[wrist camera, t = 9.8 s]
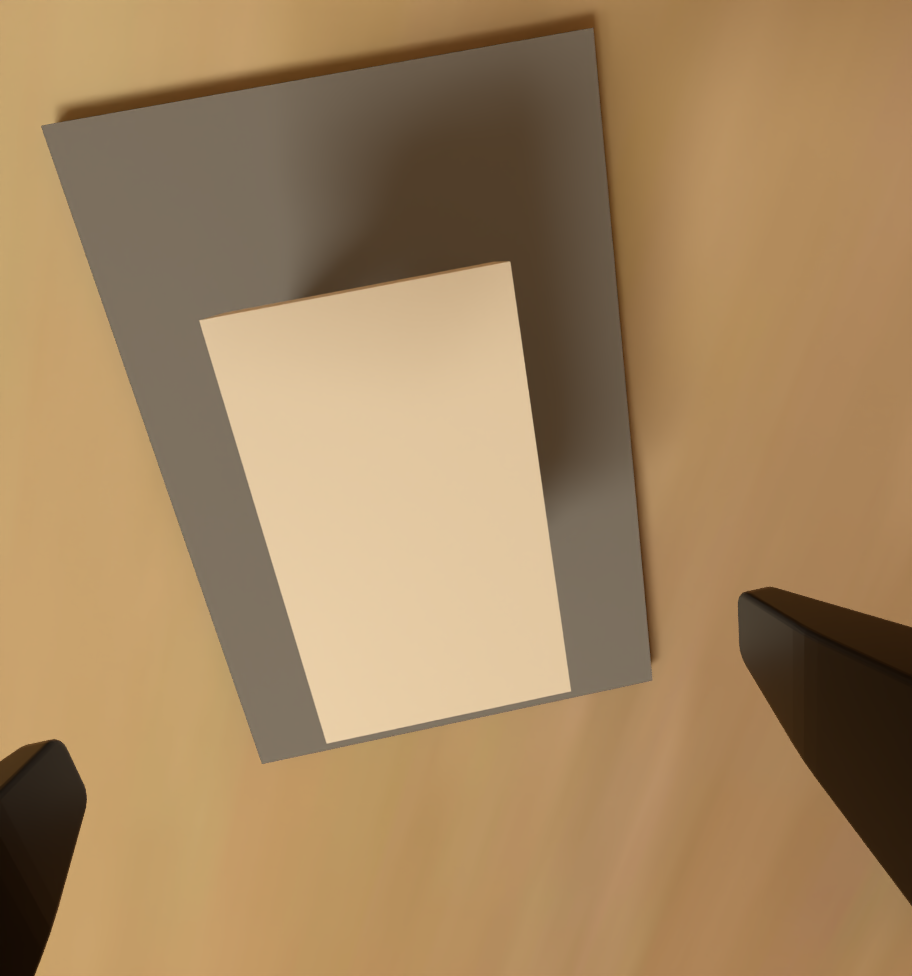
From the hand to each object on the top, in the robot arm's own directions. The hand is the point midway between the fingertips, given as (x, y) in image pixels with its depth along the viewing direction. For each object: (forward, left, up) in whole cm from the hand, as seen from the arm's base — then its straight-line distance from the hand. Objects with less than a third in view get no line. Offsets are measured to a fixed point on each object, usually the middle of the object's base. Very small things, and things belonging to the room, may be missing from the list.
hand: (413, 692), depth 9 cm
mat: (0, 0, -13) cm, 12 cm away
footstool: (0, 0, -12) cm, 12 cm away
